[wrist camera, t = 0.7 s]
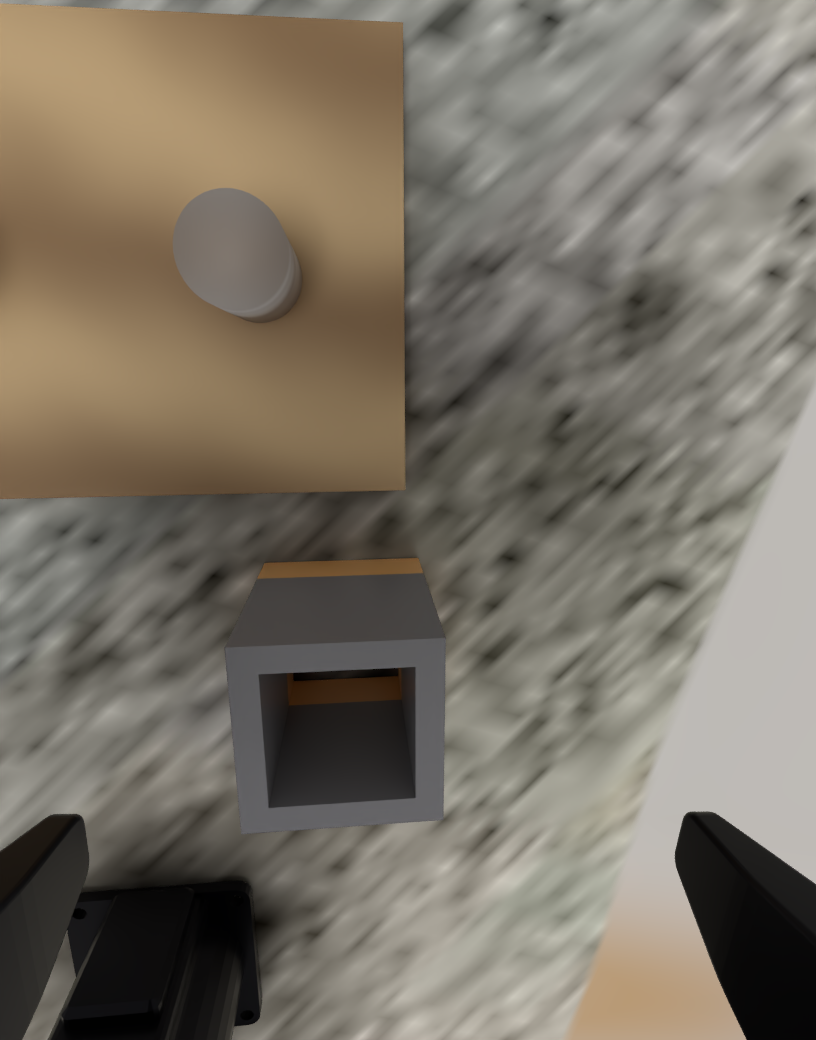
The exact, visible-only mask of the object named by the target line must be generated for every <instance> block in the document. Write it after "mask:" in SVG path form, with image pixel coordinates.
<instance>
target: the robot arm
mask: <svg viewBox="0 0 816 1040" xmlns="http://www.w3.org/2000/svg"><path fill="white" fill-rule="evenodd" d="M675 863H676V868H677V871H678V874H679V876H680V879H681V882H682V885H683V887H684V890H685V893H686V895H687V898H688V901H689V903H690V906H691V909H692V911H693V914H694V917H695V919H696V922H697V925H698V927H699V930H700V933H701V935H702V938H703V940H704V943H705V946H706V948H707V951H708V954H709V957H710V959H711V962H712V964H713V967H714V969H715V972H716V974H717V977H718V979H719V982H720V984H721V986H722V988H723V991H724V993H725V995H726V997H727V999H728V1002H729V1004H730V1006H731V1008H732V1010H733V1012H734V1014H735V1016H736V1018H737V1020H738V1023H739V1025H740V1027H741V1028H742V1031H743V1033H744V1035H745V1037H746V1039H747V1040H816V884H815V883H813V882H812V881H811V880H809V879H808V878H806V877H805V876H804V875H802V874H801V873H799V872H798V871H796V870H795V869H794V868H792V867H791V866H789V865H788V864H787V863H785V862H784V861H782V860H781V859H780V858H778V857H777V856H775V855H774V854H773V853H771V852H770V851H768V850H767V849H765V848H764V847H763V846H761V845H760V844H758V843H757V842H756V841H754V840H753V839H751V838H750V837H749V836H747V835H746V834H744V833H743V832H742V831H740V830H739V829H737V828H736V827H734V826H733V825H732V824H730V823H729V822H727V821H726V820H725V819H723V818H722V817H720V816H719V815H717V814H716V813H713V812H688V813H687V814H686V815H685V816H684V818H683V821H682V826H681V829H680V833H679V838H678V842H677V846H676V850H675ZM88 867H89V852H88V845H87V838H86V831H85V824H84V820H83V818H82V816H80V815H78V814H54V815H50V816H48V817H47V818H45V819H43V820H42V821H41V822H39V823H38V824H37V825H35V826H34V827H33V828H31V829H30V830H29V831H27V832H26V833H24V834H23V835H22V836H20V837H19V838H18V839H16V840H15V841H14V842H12V843H11V844H10V845H8V846H7V847H6V848H4V849H3V850H1V851H0V1040H22V1039H23V1037H24V1035H25V1033H26V1030H27V1028H28V1026H29V1024H30V1022H31V1020H32V1018H33V1015H34V1013H35V1011H36V1009H37V1006H38V1004H39V1002H40V1000H41V997H42V995H43V992H44V990H45V987H46V984H47V982H48V979H49V977H50V974H51V971H52V969H53V966H54V963H55V961H56V958H57V955H58V952H59V950H60V947H61V944H62V942H63V939H64V936H65V933H66V931H68V936H69V942H70V947H71V952H72V958H73V963H74V968H75V974H76V979H75V981H74V984H73V986H72V988H71V990H70V992H69V995H68V997H67V999H66V1001H65V1003H64V1005H63V1008H62V1010H61V1012H60V1014H59V1016H58V1018H57V1021H56V1023H55V1025H54V1027H53V1029H52V1031H51V1034H50V1036H49V1038H48V1040H232V1034H233V1029H234V1026H242V1025H250V1024H253V1023H255V1022H256V1021H257V1020H258V1019H259V1018H260V1012H261V1005H262V1000H261V988H260V977H259V965H258V954H257V942H256V931H255V919H254V908H253V896H252V889H251V886H250V885H249V884H248V883H246V882H243V881H228V882H215V883H202V884H189V885H176V886H163V887H150V888H137V889H124V890H111V891H98V892H85V893H81V890H82V887H83V885H84V882H85V879H86V876H87V872H88ZM235 895H236V896H240V897H235ZM80 908H82V909H80Z"/></svg>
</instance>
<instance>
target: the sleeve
mask: <svg viewBox="0 0 816 1040" xmlns="http://www.w3.org/2000/svg"><path fill="white" fill-rule="evenodd" d="M445 650H446V638H445V635H444V632H443V629H442V626H441V623H440V620H439V617H438V614H437V611H436V608H435V606H434V603H433V600H432V597H431V594H430V591H429V588H428V585H427V582H426V579H425V576H424V573H423V571H422V568H421V565H420V562H419V559H418V558H401V559H369V560H338V561H306V562H275V563H264V565H263V567H262V570H261V572H260V574H259V576H258V578H257V580H256V582H255V584H254V586H253V589H252V591H251V593H250V595H249V597H248V599H247V601H246V603H245V606H244V608H243V610H242V612H241V614H240V616H239V618H238V620H237V622H236V625H235V627H234V629H233V631H232V633H231V635H230V637H229V639H228V642H227V644H226V646H225V658H226V669H227V680H228V692H229V703H230V714H231V725H232V736H233V747H234V758H235V769H236V780H237V792H238V803H239V814H240V825H241V834H250V833H265V832H279V831H293V830H307V829H321V828H335V827H350V826H364V825H378V824H392V823H406V822H420V821H434V820H443V803H444V727H445ZM383 668H398V676H391V677H370V678H350V679H329V680H309V681H294V680H293V673H299V672H320V671H341V670H362V669H383Z"/></svg>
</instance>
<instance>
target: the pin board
mask: <svg viewBox="0 0 816 1040" xmlns="http://www.w3.org/2000/svg"><path fill="white" fill-rule="evenodd" d="M389 490H405V336H404V147H403V23H401V22H380V21H359V20H338V19H316V18H295V17H274V16H253V15H232V14H211V13H190V12H169V11H148V10H126V9H105V8H84V7H63V6H42V5H21V4H0V499H18V498H64V497H111V496H157V495H203V494H250V493H296V492H342V491H389Z"/></svg>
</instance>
